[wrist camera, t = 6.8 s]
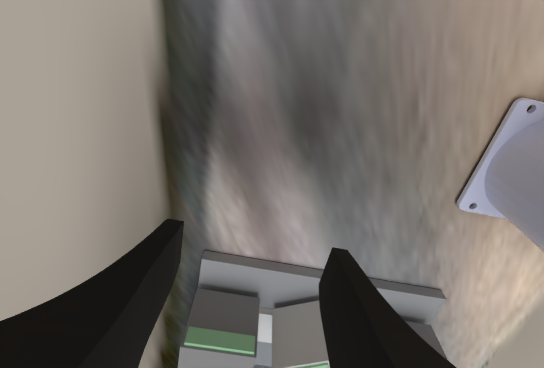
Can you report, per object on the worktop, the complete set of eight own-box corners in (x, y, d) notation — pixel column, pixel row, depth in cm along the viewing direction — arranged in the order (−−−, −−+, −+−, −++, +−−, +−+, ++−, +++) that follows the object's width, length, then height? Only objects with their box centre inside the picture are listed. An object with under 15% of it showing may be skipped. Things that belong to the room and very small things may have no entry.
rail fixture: (441, 290, 27) (485, 366, 21) (387, 373, 33) (411, 451, 27) (204, 250, 25) (183, 321, 20) (191, 345, 31) (171, 422, 25)
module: (320, 300, 26) (330, 362, 21) (336, 353, 29) (347, 417, 24) (272, 309, 26) (271, 371, 22) (293, 360, 29) (296, 424, 25)
